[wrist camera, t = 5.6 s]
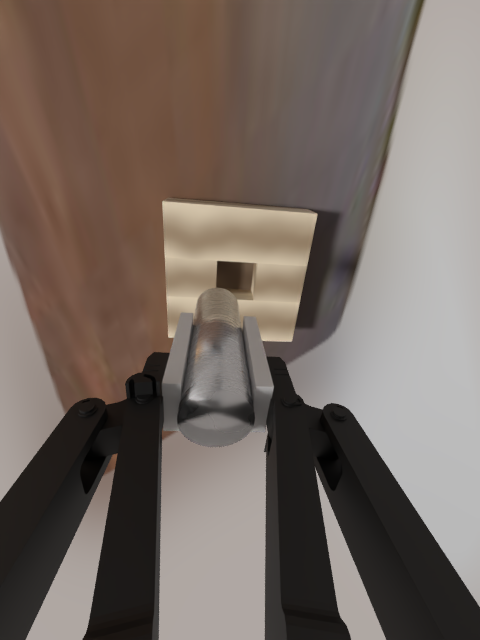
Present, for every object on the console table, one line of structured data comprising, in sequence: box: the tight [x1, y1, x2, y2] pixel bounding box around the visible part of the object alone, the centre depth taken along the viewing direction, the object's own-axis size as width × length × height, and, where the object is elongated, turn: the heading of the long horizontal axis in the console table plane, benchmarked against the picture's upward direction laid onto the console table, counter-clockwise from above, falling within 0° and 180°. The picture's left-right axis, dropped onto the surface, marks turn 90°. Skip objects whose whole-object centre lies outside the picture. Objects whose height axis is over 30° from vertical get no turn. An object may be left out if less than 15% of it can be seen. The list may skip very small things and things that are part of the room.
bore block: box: [162, 198, 318, 342], centre depth 34 cm, size 16×16×4 cm
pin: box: [177, 288, 255, 447], centre depth 16 cm, size 3×3×11 cm
